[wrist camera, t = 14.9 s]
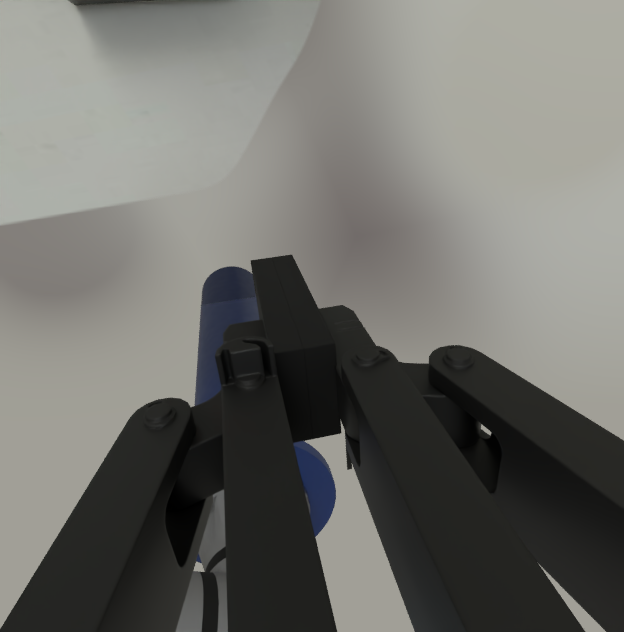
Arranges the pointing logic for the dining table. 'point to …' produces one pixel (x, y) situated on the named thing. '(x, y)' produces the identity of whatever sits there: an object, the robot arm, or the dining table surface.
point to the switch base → (100, 1)
